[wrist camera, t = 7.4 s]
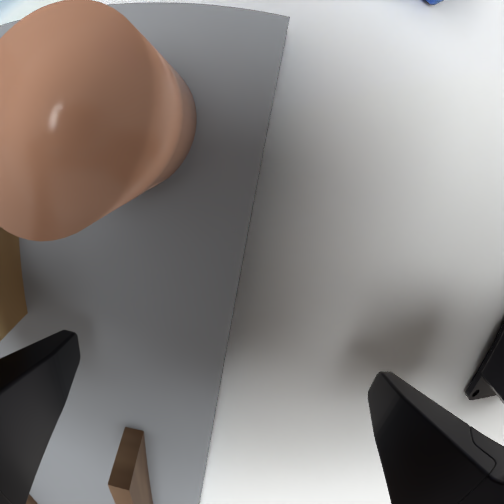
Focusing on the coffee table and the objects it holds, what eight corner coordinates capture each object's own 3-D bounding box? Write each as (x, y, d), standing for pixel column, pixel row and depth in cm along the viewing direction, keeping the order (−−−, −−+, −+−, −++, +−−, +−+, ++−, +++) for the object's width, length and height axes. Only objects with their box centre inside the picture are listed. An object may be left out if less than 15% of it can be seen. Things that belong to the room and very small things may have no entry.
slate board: (283, 31, 7) (289, 17, 6) (191, 544, 19) (191, 554, 18) (-76, 65, 6) (-92, 65, 5) (31, 497, 17) (28, 506, 16)
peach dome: (209, 62, 7) (181, -9, 3) (184, 202, 8) (135, 260, 4) (80, 58, 6) (-15, 21, 2) (61, 186, 7) (-40, 225, 4)
